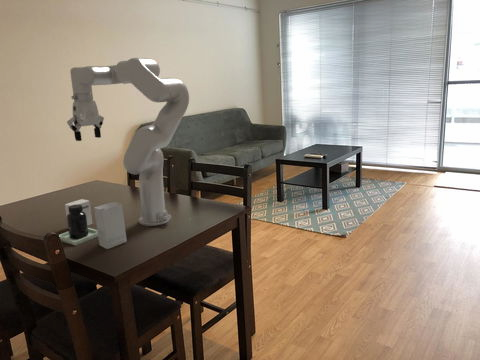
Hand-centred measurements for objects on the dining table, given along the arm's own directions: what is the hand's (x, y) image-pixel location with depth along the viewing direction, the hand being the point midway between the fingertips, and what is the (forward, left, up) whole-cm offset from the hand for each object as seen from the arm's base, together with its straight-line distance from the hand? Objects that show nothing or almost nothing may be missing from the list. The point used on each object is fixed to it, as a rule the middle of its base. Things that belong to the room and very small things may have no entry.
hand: (88, 139), depth 172 cm
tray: (-18, +22, -33) cm, 44 cm away
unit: (-7, +14, -33) cm, 37 cm away
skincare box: (-34, +20, -34) cm, 52 cm away
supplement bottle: (-18, +22, -33) cm, 43 cm away
